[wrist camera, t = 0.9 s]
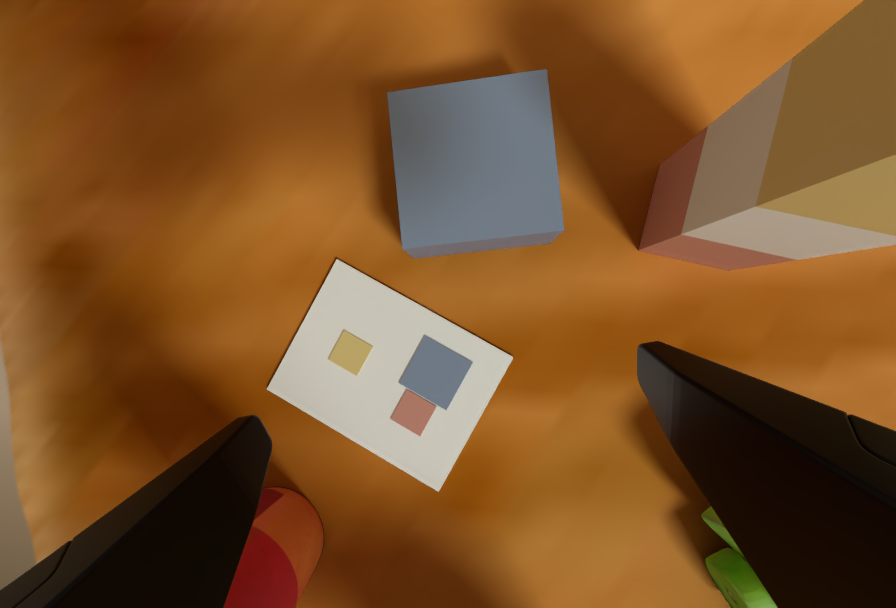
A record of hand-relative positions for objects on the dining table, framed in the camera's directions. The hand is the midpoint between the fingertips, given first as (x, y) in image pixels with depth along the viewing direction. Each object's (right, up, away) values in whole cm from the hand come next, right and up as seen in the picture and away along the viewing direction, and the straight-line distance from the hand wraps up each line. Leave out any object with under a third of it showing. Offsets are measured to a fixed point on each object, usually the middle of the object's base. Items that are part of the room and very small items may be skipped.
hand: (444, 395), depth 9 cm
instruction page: (-3, -2, +14) cm, 15 cm away
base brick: (+2, +9, +14) cm, 17 cm away
